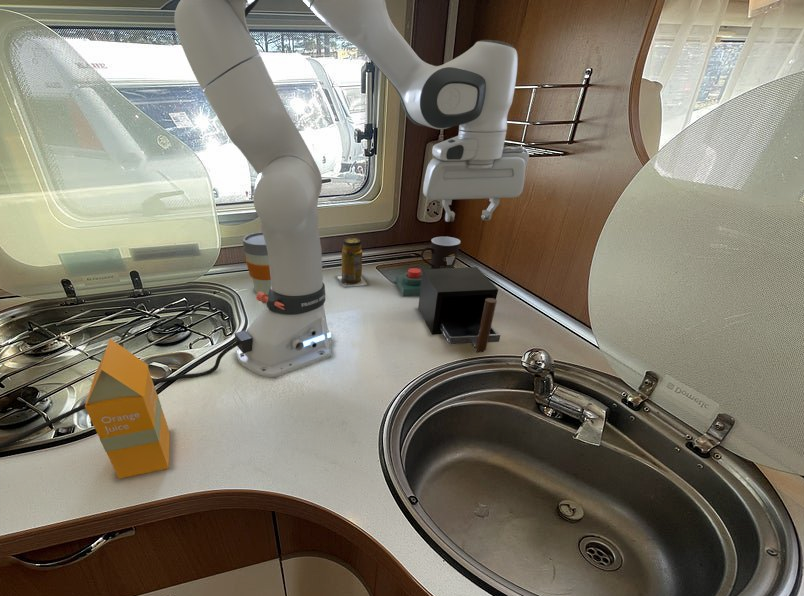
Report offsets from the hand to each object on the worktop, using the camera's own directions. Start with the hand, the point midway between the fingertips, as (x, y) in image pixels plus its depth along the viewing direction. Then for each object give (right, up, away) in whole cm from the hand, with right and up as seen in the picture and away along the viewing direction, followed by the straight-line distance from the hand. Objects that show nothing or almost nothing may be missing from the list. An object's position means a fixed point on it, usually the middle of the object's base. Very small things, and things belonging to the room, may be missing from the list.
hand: (467, 220), depth 91 cm
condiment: (-24, -4, +38) cm, 45 cm away
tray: (+2, -24, +6) cm, 25 cm away
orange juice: (-60, -47, -20) cm, 79 cm away
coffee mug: (+3, 0, +42) cm, 42 cm away
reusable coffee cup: (-48, -7, +34) cm, 59 cm away
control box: (-6, -7, +33) cm, 34 cm away
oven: (+1, -19, +16) cm, 25 cm away
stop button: (-6, -4, +30) cm, 31 cm away
